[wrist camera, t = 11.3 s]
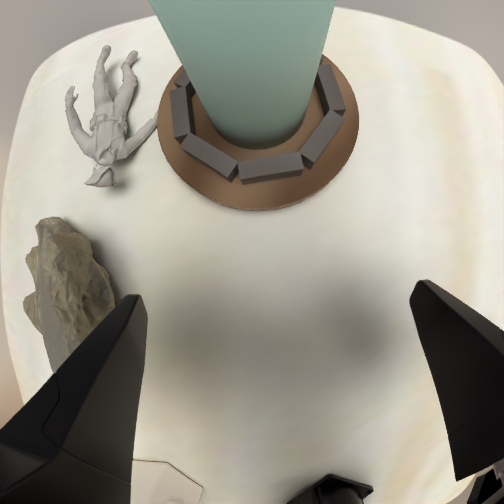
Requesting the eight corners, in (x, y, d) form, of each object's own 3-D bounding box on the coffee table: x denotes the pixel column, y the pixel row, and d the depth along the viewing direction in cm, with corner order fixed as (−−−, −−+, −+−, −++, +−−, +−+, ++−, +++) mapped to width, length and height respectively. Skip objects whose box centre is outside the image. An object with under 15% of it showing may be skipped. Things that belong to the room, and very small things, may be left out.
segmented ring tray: (380, 107, 17) (397, 85, 14) (283, 251, 18) (286, 252, 14) (237, 30, 18) (232, 2, 14) (134, 148, 18) (110, 133, 15)
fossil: (153, 254, 22) (50, 212, 19) (160, 260, 13) (-7, 190, 9) (112, 400, 21) (17, 362, 17) (106, 476, 11) (-30, 416, 7)
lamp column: (313, 80, 15) (354, -89, 2) (293, 160, 16) (346, -25, 3) (225, 63, 16) (178, -96, 3) (197, 139, 16) (80, -17, 3)
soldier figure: (169, 58, 19) (181, 155, 15) (147, 97, 22) (153, 198, 19) (86, 40, 14) (51, 139, 11) (72, 85, 18) (47, 192, 14)
